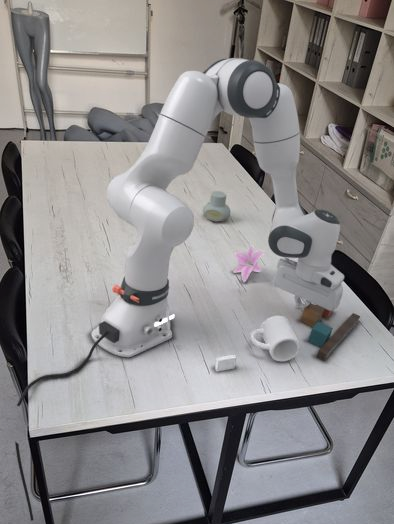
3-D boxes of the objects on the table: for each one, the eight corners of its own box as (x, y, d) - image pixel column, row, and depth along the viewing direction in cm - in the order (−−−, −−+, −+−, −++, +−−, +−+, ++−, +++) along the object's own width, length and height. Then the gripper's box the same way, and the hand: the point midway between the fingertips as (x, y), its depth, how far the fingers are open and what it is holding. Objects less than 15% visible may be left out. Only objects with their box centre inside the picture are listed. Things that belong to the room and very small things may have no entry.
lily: (231, 265, 167) (226, 247, 159) (265, 255, 166) (261, 236, 158) (238, 292, 161) (233, 275, 153) (273, 282, 160) (269, 264, 151)
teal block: (322, 348, 135) (327, 335, 132) (307, 341, 136) (311, 328, 133) (328, 340, 138) (333, 327, 135) (314, 334, 139) (318, 321, 137)
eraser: (234, 368, 124) (236, 357, 122) (216, 371, 123) (218, 360, 120) (232, 365, 125) (234, 354, 123) (214, 368, 124) (216, 357, 121)
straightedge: (324, 361, 130) (326, 354, 129) (316, 357, 131) (318, 350, 130) (358, 322, 146) (360, 316, 145) (350, 319, 147) (353, 312, 146)
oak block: (313, 327, 142) (317, 315, 139) (300, 321, 144) (303, 308, 141) (320, 321, 145) (324, 308, 142) (306, 314, 147) (310, 302, 144)
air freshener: (199, 219, 191) (202, 194, 184) (205, 211, 197) (208, 187, 191) (226, 225, 189) (230, 200, 183) (231, 217, 195) (235, 193, 189)
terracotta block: (326, 319, 146) (330, 306, 143) (313, 312, 148) (316, 300, 145) (332, 312, 149) (336, 300, 146) (319, 306, 151) (323, 294, 148)
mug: (285, 338, 137) (291, 314, 131) (296, 361, 129) (303, 337, 124) (244, 339, 134) (248, 315, 129) (253, 363, 127) (258, 339, 122)
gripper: (274, 259, 138) (265, 299, 147) (340, 287, 130) (327, 328, 138) (284, 251, 142) (275, 291, 151) (350, 278, 134) (335, 318, 142)
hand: (300, 309), depth 144 cm, fingers closed
